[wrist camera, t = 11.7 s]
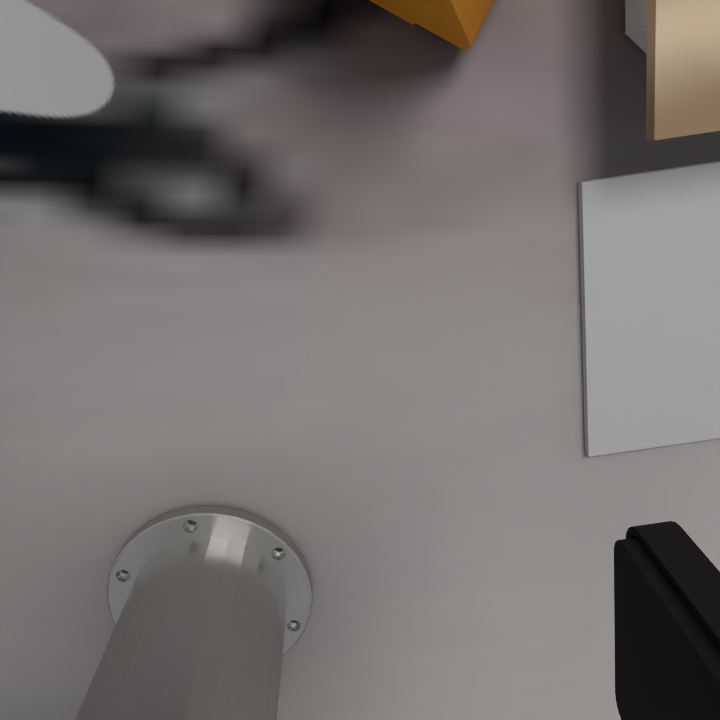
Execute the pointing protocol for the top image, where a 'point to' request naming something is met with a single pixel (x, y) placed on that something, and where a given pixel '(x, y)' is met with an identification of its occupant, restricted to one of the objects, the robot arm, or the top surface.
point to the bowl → (636, 22)
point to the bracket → (442, 17)
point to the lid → (682, 68)
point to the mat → (650, 308)
